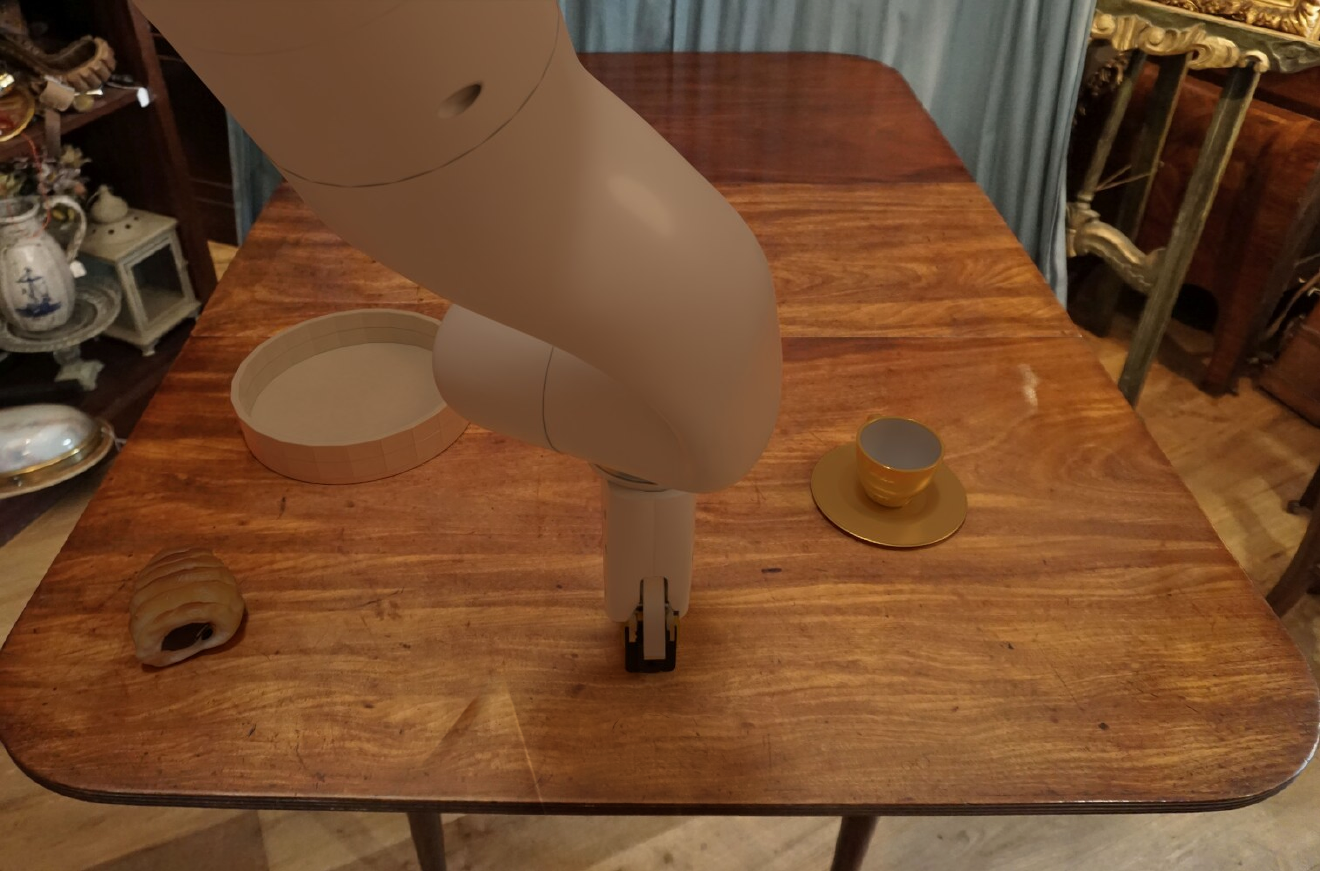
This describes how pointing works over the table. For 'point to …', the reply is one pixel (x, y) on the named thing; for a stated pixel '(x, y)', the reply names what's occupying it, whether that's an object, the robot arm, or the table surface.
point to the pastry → (183, 605)
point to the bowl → (345, 397)
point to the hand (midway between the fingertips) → (648, 635)
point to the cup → (891, 484)
